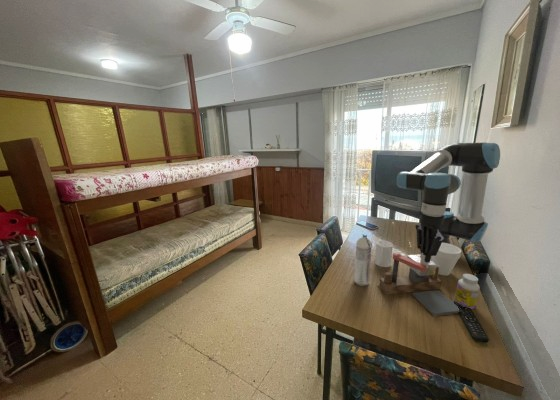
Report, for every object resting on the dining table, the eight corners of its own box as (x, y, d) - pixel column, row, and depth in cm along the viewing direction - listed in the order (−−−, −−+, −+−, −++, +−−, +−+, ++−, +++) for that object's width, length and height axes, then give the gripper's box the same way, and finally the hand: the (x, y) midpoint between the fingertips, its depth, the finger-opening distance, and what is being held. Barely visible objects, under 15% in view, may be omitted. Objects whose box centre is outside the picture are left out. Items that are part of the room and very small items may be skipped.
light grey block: (420, 263, 104) (421, 254, 103) (434, 274, 96) (436, 264, 94) (406, 264, 104) (407, 255, 102) (419, 275, 95) (421, 265, 94)
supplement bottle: (450, 299, 94) (455, 272, 90) (464, 297, 94) (470, 271, 91) (464, 310, 87) (470, 282, 84) (479, 309, 88) (486, 281, 84)
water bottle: (361, 288, 102) (365, 239, 96) (350, 280, 108) (353, 233, 102) (371, 283, 105) (376, 235, 99) (360, 276, 111) (364, 230, 105)
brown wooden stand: (430, 280, 106) (435, 252, 102) (440, 288, 100) (445, 258, 96) (379, 285, 104) (382, 256, 100) (386, 294, 98) (389, 263, 94)
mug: (386, 272, 114) (389, 251, 111) (370, 266, 119) (371, 246, 116) (392, 262, 122) (395, 242, 119) (377, 257, 128) (378, 238, 125)
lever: (426, 269, 88) (427, 265, 88) (422, 272, 87) (423, 268, 86) (395, 256, 99) (395, 252, 99) (391, 258, 97) (391, 254, 97)
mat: (437, 292, 98) (438, 290, 98) (461, 312, 86) (462, 310, 86) (412, 294, 97) (412, 292, 97) (433, 315, 85) (434, 313, 85)
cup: (430, 276, 109) (435, 251, 106) (424, 263, 120) (428, 240, 117) (460, 280, 105) (466, 255, 101) (451, 267, 116) (456, 243, 112)
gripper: (411, 209, 90) (405, 259, 96) (436, 220, 77) (426, 277, 84) (428, 207, 90) (420, 258, 97) (456, 218, 78) (445, 275, 84)
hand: (423, 267), depth 90 cm, fingers closed
